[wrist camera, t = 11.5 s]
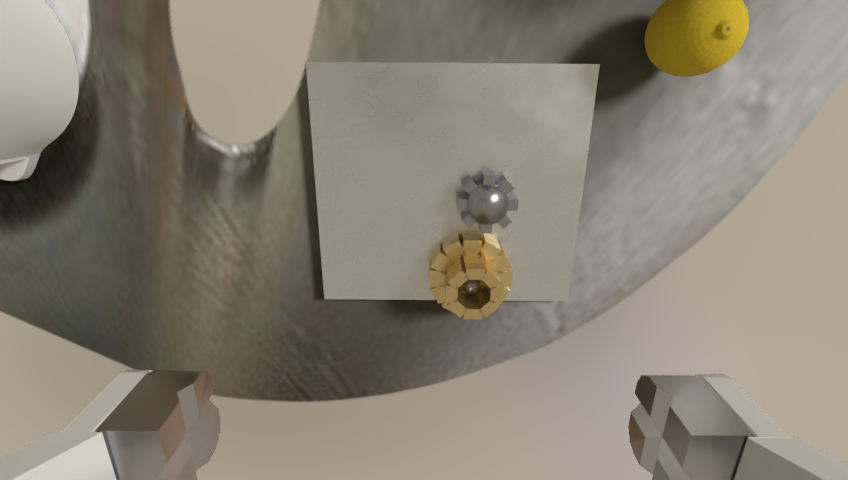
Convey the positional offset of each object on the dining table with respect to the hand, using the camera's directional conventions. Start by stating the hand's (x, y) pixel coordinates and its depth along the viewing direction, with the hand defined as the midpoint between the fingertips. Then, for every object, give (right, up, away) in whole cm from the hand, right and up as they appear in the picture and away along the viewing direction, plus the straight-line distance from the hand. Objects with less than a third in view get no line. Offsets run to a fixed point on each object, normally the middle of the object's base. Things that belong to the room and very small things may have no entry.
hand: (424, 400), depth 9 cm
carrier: (+2, +7, +30) cm, 31 cm away
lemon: (+18, +19, +26) cm, 37 cm away
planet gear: (+4, 0, +32) cm, 32 cm away
